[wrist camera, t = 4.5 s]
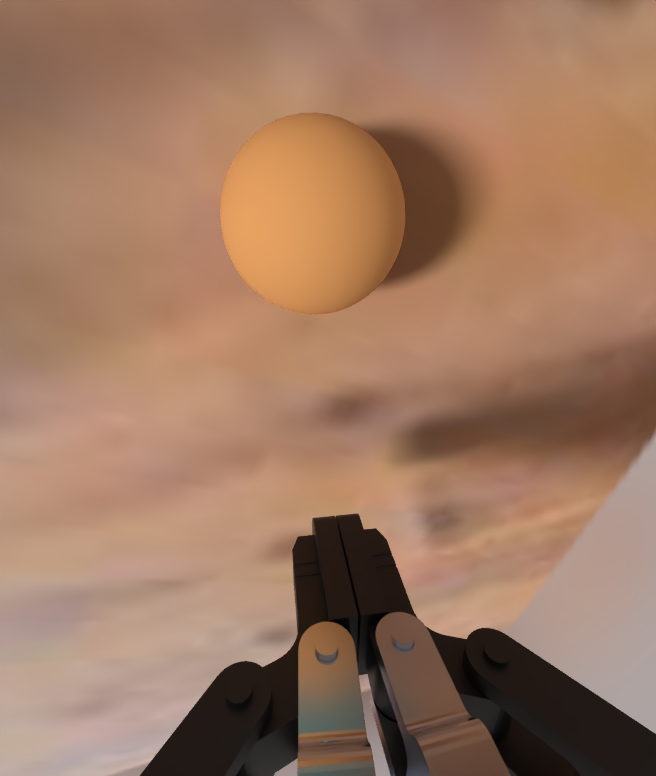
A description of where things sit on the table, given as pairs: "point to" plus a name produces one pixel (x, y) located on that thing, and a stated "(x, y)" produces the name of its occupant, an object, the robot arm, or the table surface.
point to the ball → (312, 213)
